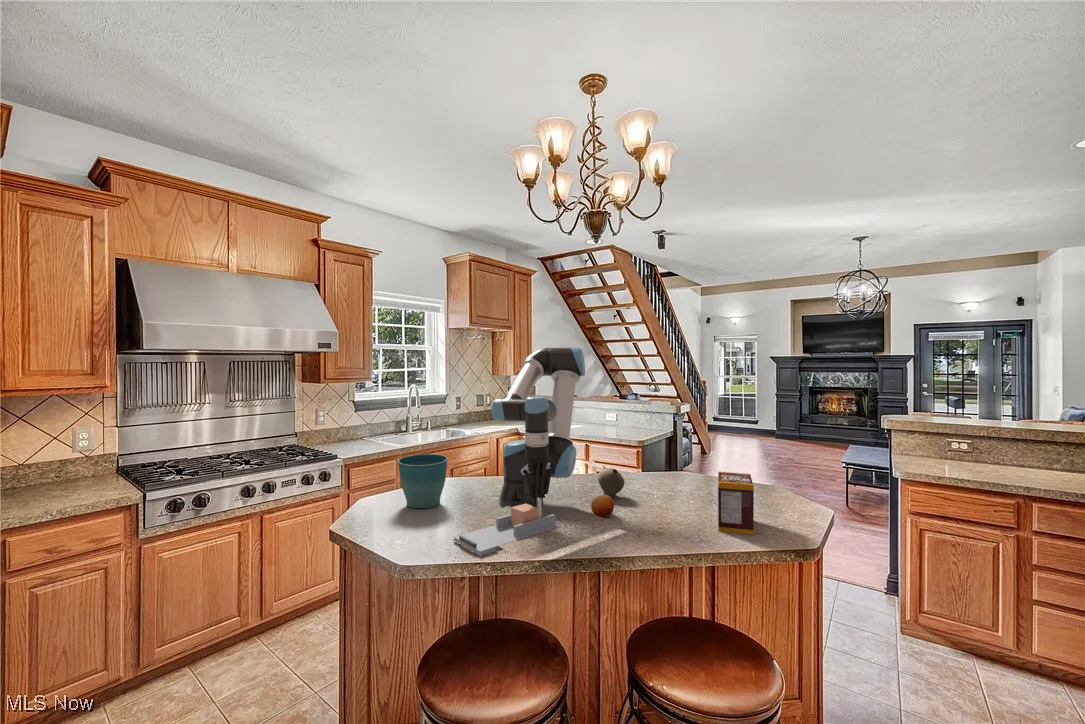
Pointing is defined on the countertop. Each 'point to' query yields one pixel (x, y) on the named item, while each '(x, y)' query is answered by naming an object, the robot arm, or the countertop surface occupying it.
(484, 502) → the countertop surface
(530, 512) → the block
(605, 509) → the fruit
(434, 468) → the flower pot
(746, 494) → the supplement box
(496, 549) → the chute
